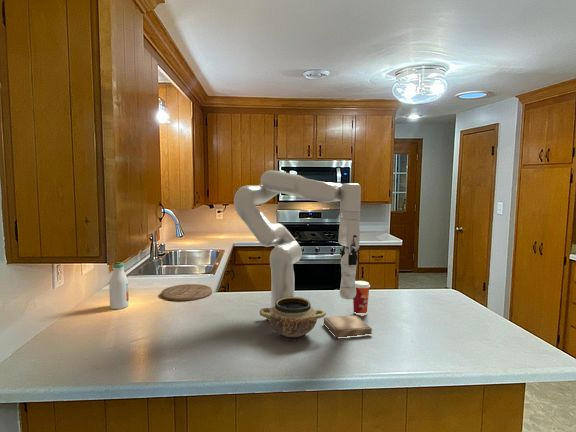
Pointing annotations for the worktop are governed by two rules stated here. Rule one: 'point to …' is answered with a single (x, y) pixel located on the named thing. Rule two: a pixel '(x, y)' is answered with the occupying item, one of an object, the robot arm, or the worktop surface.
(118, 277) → the milk bottle
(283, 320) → the ceramic bowl
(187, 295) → the trivet
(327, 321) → the plinth
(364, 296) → the paper cup
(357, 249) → the robot arm
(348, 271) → the plastic bottle
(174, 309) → the worktop surface
